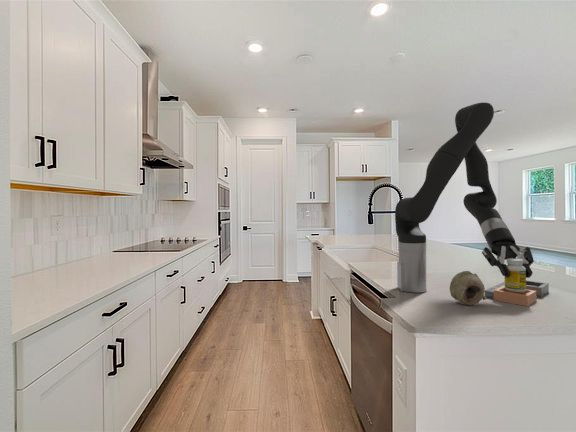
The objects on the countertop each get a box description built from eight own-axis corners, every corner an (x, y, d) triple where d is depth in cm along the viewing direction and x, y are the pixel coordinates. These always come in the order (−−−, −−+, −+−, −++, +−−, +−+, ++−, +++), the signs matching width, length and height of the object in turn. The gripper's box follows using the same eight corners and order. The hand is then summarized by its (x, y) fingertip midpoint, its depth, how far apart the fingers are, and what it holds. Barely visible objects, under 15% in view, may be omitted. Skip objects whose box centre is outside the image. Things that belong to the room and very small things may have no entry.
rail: (529, 305, 87) (529, 295, 87) (484, 296, 96) (484, 287, 96) (548, 292, 100) (548, 283, 100) (507, 285, 109) (507, 277, 109)
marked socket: (527, 306, 86) (527, 296, 86) (493, 299, 93) (493, 290, 93) (536, 300, 91) (536, 291, 91) (503, 294, 98) (503, 285, 98)
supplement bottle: (508, 286, 96) (508, 257, 96) (529, 290, 92) (528, 259, 91) (501, 289, 93) (501, 259, 93) (522, 293, 89) (521, 261, 88)
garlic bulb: (443, 301, 92) (443, 269, 92) (462, 297, 96) (462, 267, 95) (473, 310, 84) (472, 275, 83) (492, 306, 87) (492, 272, 87)
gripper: (478, 227, 100) (498, 269, 89) (524, 226, 98) (551, 269, 87) (470, 240, 106) (488, 282, 94) (514, 240, 104) (538, 282, 92)
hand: (518, 276), depth 91 cm, fingers closed on supplement bottle, 5 cm apart
